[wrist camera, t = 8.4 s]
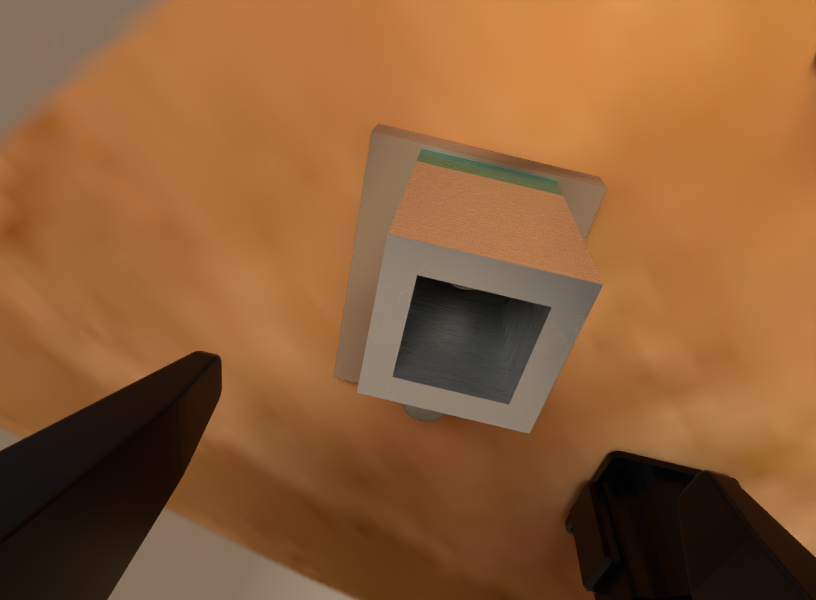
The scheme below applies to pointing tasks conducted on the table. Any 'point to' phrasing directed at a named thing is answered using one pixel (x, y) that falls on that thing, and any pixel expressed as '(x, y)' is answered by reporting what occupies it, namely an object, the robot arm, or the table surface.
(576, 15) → the table surface
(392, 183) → the pin board
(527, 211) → the sleeve
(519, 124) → the table surface
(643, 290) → the table surface
